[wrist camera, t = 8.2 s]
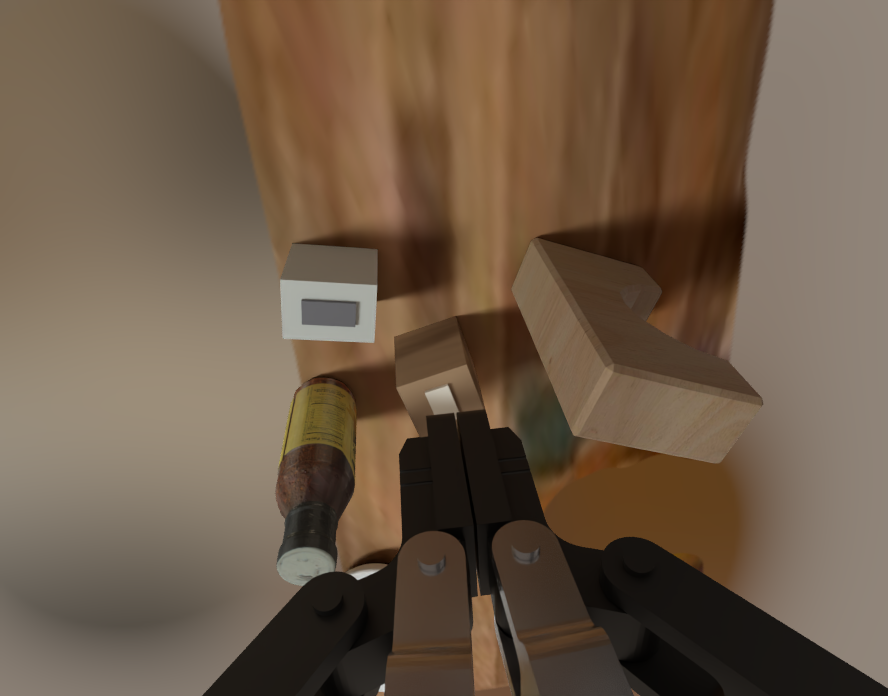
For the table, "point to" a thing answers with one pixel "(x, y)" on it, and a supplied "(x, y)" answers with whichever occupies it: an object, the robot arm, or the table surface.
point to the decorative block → (626, 358)
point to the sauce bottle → (315, 477)
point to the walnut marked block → (435, 373)
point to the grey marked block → (329, 293)
